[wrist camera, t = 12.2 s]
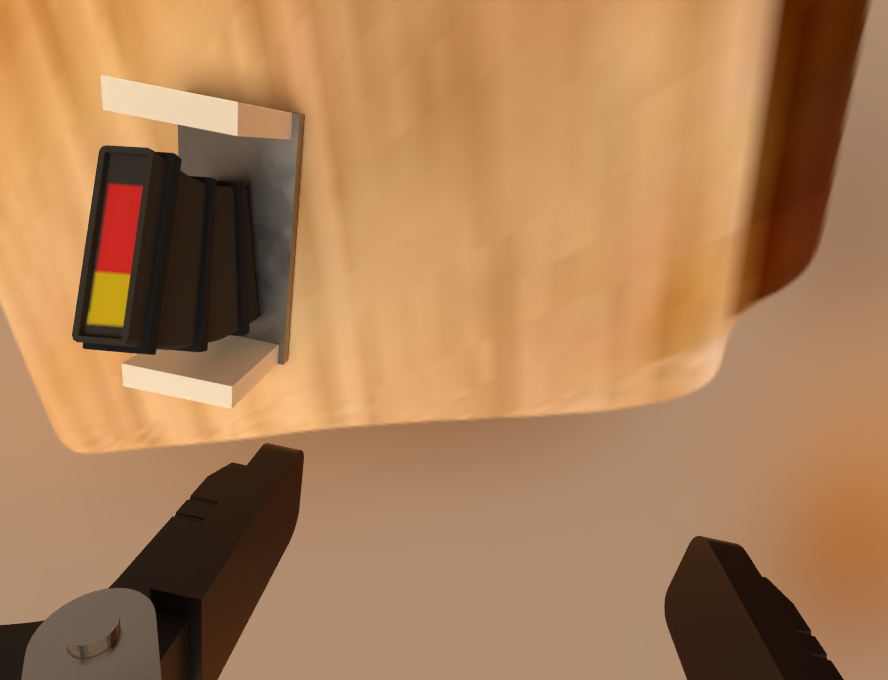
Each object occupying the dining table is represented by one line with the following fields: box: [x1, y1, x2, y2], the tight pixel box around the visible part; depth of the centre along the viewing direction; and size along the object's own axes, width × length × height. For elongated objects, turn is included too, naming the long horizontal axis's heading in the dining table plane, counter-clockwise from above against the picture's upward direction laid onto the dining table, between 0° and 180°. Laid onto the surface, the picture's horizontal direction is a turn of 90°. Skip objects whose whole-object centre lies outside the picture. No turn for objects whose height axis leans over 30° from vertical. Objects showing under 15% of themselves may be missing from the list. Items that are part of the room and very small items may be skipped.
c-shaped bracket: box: [101, 75, 293, 409], centre depth 35 cm, size 20×8×8 cm, turn 170°
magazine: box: [72, 146, 258, 355], centre depth 34 cm, size 4×13×15 cm, turn 177°
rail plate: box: [178, 113, 304, 365], centre depth 39 cm, size 20×9×1 cm, turn 170°
